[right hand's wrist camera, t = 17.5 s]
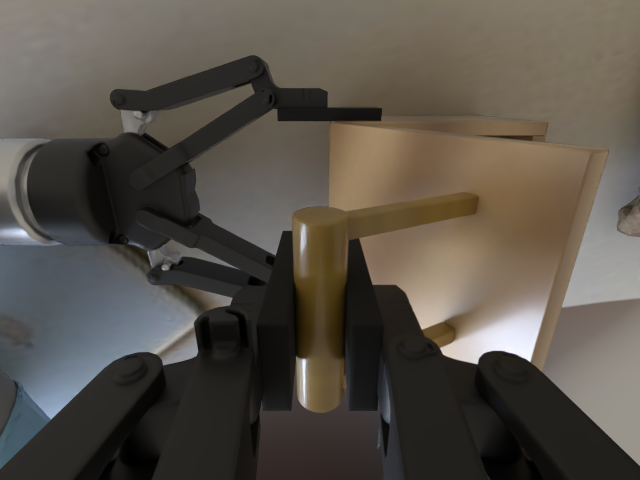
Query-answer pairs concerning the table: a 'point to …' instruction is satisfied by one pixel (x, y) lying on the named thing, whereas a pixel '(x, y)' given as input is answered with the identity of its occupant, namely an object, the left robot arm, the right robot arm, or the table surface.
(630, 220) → the stone
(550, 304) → the lid
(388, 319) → the right robot arm
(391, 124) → the chest
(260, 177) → the table surface
